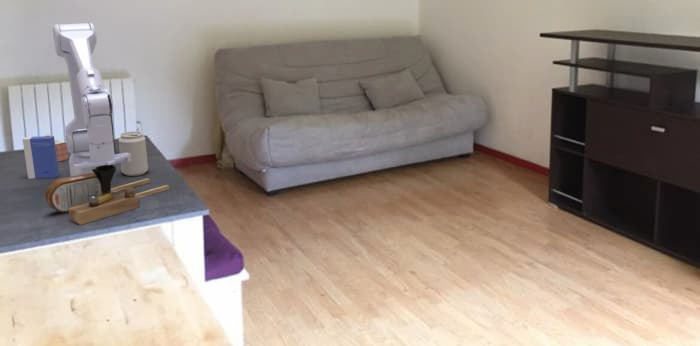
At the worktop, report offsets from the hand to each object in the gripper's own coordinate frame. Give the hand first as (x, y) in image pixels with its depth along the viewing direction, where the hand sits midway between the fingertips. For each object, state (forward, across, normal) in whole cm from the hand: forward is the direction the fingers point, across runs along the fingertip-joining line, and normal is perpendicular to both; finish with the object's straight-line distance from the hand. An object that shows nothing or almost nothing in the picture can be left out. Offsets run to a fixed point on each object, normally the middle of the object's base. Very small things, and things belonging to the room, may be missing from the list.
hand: (106, 194), depth 175 cm
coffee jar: (+4, +25, +45) cm, 51 cm away
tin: (+4, -5, +5) cm, 8 cm away
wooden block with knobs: (+4, -3, -3) cm, 5 cm away
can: (+4, +21, +20) cm, 30 cm away
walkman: (+4, +2, +37) cm, 38 cm away
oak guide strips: (+4, +11, +6) cm, 13 cm away
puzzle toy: (+4, +13, +52) cm, 53 cm away
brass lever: (0, -3, -3) cm, 4 cm away
